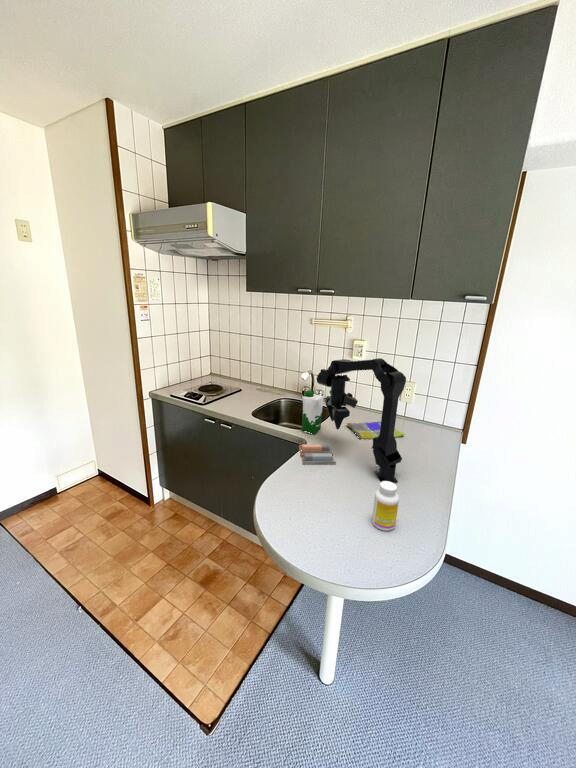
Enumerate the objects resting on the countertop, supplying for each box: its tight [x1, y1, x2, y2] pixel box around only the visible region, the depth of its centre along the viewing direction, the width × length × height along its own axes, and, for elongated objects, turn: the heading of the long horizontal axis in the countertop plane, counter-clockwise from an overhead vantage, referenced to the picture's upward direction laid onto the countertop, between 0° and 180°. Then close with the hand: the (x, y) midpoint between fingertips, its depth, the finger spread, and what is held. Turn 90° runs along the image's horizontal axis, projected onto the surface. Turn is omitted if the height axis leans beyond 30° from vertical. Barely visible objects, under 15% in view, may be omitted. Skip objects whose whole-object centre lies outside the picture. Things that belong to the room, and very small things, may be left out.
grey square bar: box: [304, 453, 334, 461], centre depth 125 cm, size 11×2×2 cm, turn 94°
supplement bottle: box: [371, 481, 400, 532], centre depth 91 cm, size 7×7×13 cm
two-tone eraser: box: [301, 443, 330, 451], centre depth 133 cm, size 11×2×2 cm, turn 94°
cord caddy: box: [298, 444, 337, 466], centre depth 129 cm, size 15×13×2 cm
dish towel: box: [345, 421, 405, 440], centre depth 157 cm, size 18×24×3 cm
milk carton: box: [301, 390, 325, 435], centre depth 152 cm, size 9×9×20 cm
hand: (335, 424), depth 134 cm, fingers open, 9 cm apart
